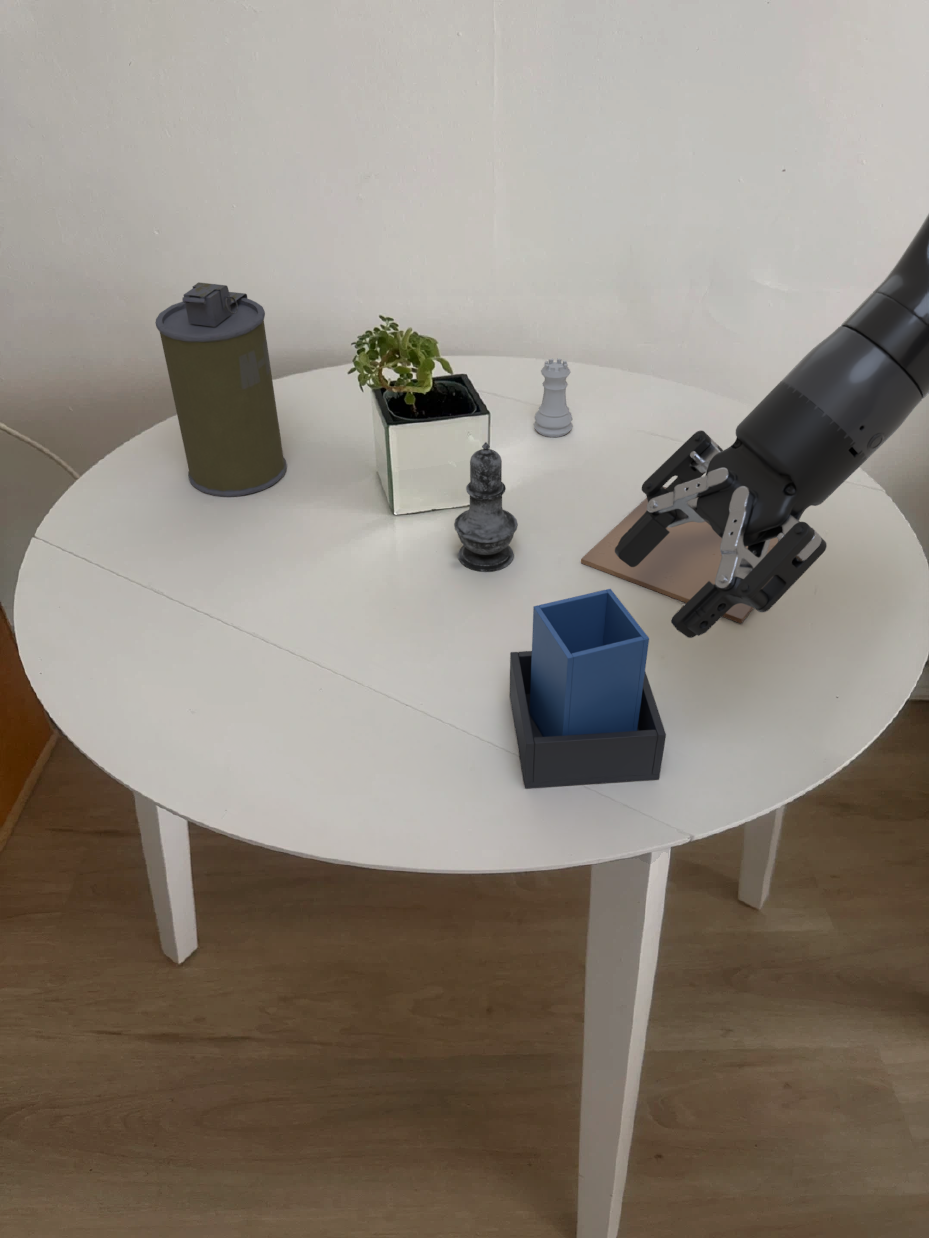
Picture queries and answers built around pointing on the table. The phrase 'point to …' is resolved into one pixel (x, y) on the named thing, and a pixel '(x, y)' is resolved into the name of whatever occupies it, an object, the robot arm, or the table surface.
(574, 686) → the blue bin
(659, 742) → the black bin
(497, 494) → the dark grey tall piece
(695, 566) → the cork mat
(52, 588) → the table surface
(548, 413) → the rook chess piece
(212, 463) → the canister
